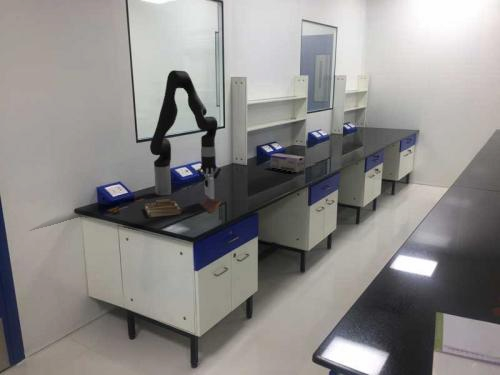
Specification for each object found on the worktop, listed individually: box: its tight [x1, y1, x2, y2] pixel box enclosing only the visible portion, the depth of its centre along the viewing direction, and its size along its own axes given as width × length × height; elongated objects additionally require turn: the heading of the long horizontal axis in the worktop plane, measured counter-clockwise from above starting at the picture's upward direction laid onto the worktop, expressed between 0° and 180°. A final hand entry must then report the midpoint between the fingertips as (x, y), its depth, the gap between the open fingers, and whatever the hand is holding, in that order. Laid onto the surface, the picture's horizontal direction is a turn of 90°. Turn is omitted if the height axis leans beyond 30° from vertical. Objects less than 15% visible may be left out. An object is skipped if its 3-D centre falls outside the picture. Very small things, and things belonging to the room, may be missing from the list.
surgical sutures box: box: [269, 152, 306, 173], centre depth 324 cm, size 25×11×11 cm, turn 48°
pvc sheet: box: [203, 174, 215, 200], centre depth 228 cm, size 2×12×11 cm, turn 21°
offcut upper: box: [155, 198, 172, 207], centre depth 221 cm, size 4×7×2 cm, turn 115°
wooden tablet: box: [200, 198, 223, 214], centre depth 231 cm, size 26×2×10 cm
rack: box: [144, 200, 182, 218], centre depth 218 cm, size 15×16×4 cm
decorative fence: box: [106, 198, 146, 215], centre depth 230 cm, size 25×2×10 cm
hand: (209, 186), depth 228 cm, fingers closed on pvc sheet, 2 cm apart
